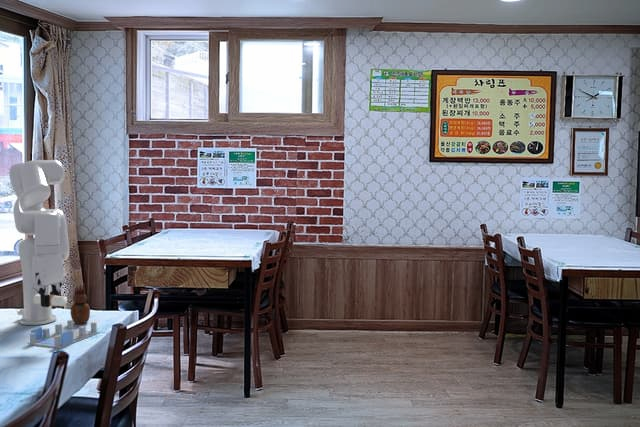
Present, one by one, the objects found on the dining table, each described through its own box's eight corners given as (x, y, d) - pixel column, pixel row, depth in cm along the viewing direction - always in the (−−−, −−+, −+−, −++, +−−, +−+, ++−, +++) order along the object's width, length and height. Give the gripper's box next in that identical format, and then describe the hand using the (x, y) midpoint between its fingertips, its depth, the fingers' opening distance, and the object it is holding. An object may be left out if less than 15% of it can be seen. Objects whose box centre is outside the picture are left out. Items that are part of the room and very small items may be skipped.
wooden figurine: (93, 321, 244) (91, 282, 243) (83, 325, 238) (81, 285, 237) (78, 320, 246) (77, 281, 245) (68, 324, 241) (66, 284, 239)
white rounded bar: (33, 306, 215) (32, 295, 214) (41, 302, 218) (39, 292, 217) (60, 308, 211) (59, 297, 210) (68, 304, 215) (66, 294, 214)
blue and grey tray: (28, 344, 215) (27, 331, 214) (68, 330, 233) (67, 317, 232) (60, 348, 210) (59, 334, 210) (98, 333, 228) (98, 320, 228)
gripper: (56, 246, 222) (58, 299, 224) (19, 253, 206) (22, 310, 208) (74, 247, 219) (76, 300, 221) (38, 254, 204) (40, 311, 205)
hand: (50, 304), depth 214 cm, fingers closed on white rounded bar, 3 cm apart
